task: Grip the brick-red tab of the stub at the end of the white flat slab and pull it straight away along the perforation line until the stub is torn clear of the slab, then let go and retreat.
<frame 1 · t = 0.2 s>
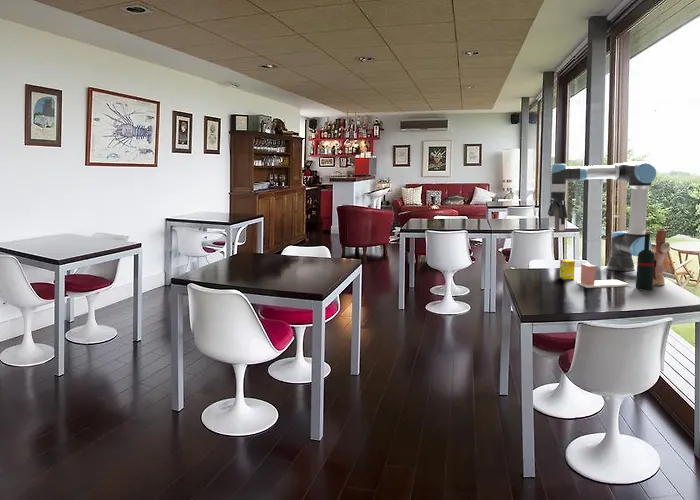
hand: (556, 228, 329), 28 cm above the table, fingers open, 13 cm apart
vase: (657, 285, 308), on the table
wine bottle: (646, 289, 299), on the table
supplement box: (566, 279, 325), on the table
white flat slab: (608, 284, 310), on the table
stub: (587, 275, 308), point 6 cm above the table, slide at 0.0 cm
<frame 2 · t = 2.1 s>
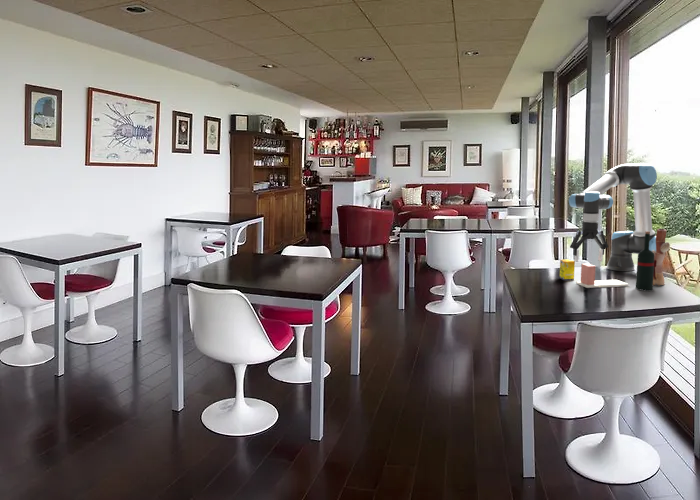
hand: (588, 261, 307), 13 cm above the table, fingers open, 13 cm apart
nothing on the table moved.
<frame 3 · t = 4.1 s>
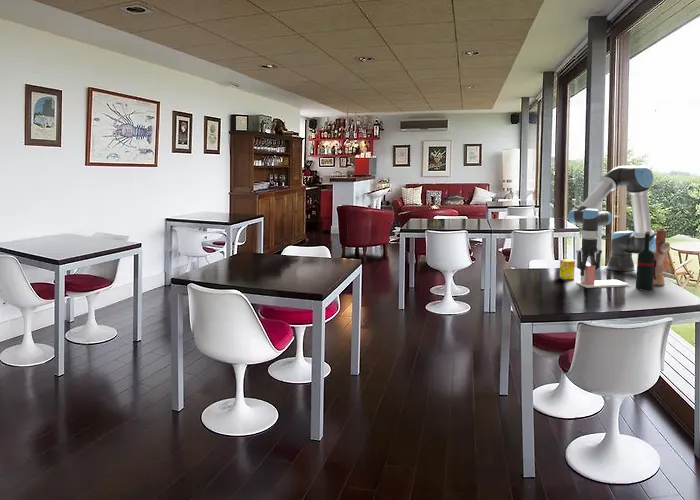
hand: (587, 281, 309), 2 cm above the table, fingers closed on stub, 4 cm apart
stub: (587, 275, 308), point 6 cm above the table, slide at 0.0 cm, touching gripper
everything else where it was.
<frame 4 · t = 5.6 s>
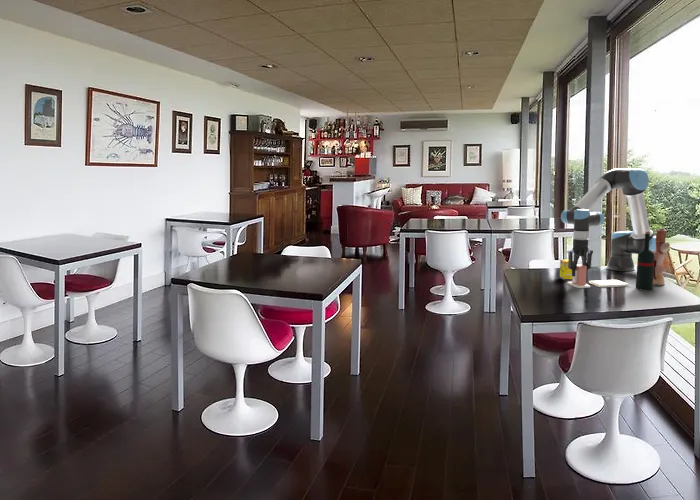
hand: (578, 281, 308), 2 cm above the table, fingers closed on stub, 4 cm apart
stub: (579, 275, 307), point 6 cm above the table, slide at 4.9 cm, touching gripper
everything else where it was.
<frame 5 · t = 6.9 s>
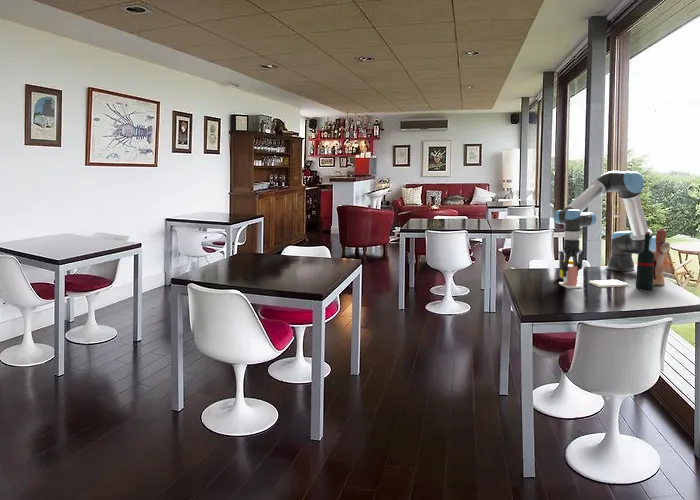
hand: (570, 282, 307), 2 cm above the table, fingers closed on stub, 4 cm apart
stub: (570, 275, 307), point 6 cm above the table, slide at 9.9 cm, touching gripper
everything else where it was.
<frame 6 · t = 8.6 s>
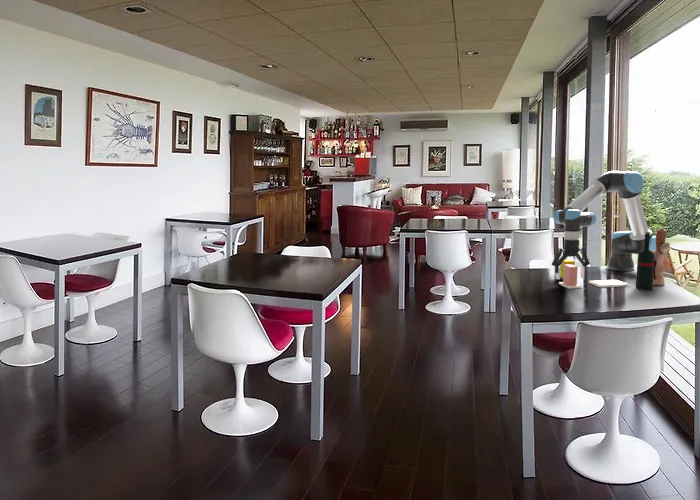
hand: (570, 278, 307), 4 cm above the table, fingers open, 13 cm apart
stub: (570, 275, 307), point 6 cm above the table, slide at 10.0 cm
everything else where it was.
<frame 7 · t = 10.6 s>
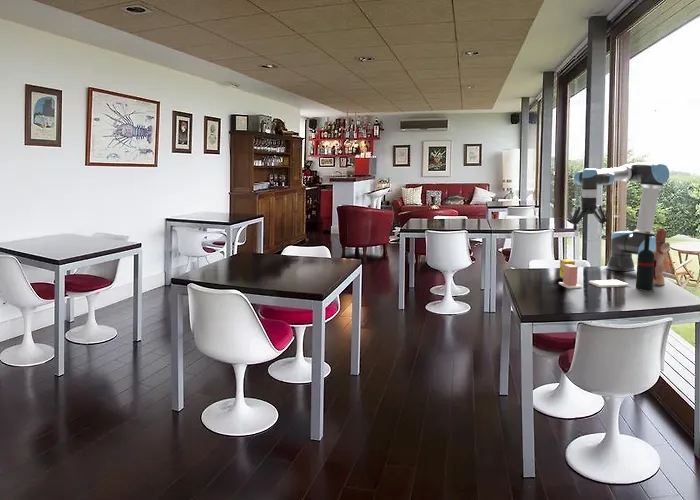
hand: (588, 235, 319), 25 cm above the table, fingers open, 13 cm apart
nothing on the table moved.
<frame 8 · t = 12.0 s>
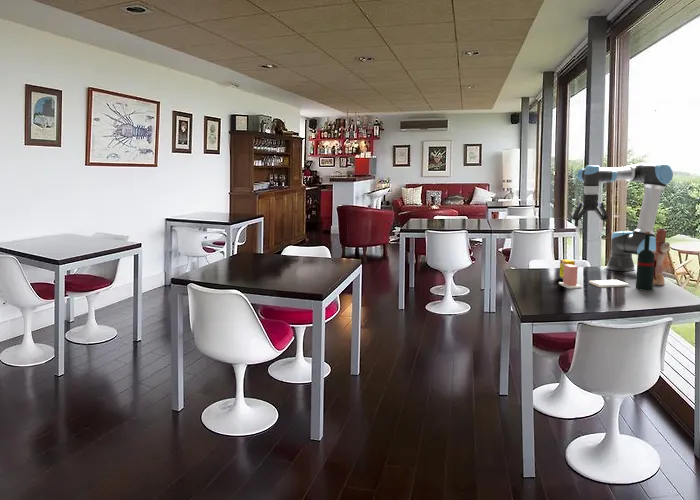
hand: (589, 232, 320), 27 cm above the table, fingers open, 13 cm apart
nothing on the table moved.
at the end: stub slide at 10.0 cm; the gripper is holding nothing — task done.
